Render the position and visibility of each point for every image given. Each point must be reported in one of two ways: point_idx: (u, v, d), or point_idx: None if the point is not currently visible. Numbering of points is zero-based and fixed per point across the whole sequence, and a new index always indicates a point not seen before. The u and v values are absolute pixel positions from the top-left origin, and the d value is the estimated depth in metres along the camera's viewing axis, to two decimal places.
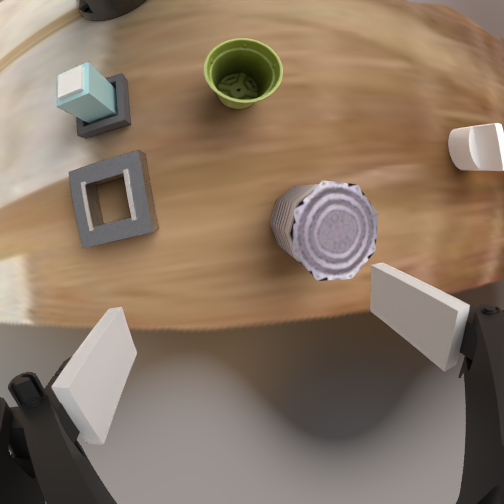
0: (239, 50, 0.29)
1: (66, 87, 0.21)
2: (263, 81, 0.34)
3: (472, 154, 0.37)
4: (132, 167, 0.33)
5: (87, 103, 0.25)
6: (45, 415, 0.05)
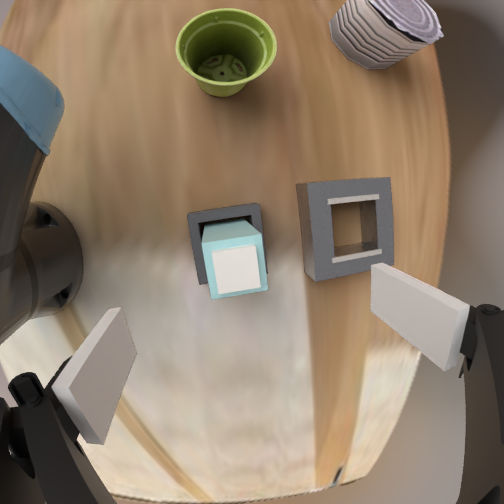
0: (186, 55, 0.22)
1: (246, 273, 0.21)
2: (219, 43, 0.25)
3: None
4: (325, 192, 0.29)
5: None
6: (45, 415, 0.05)
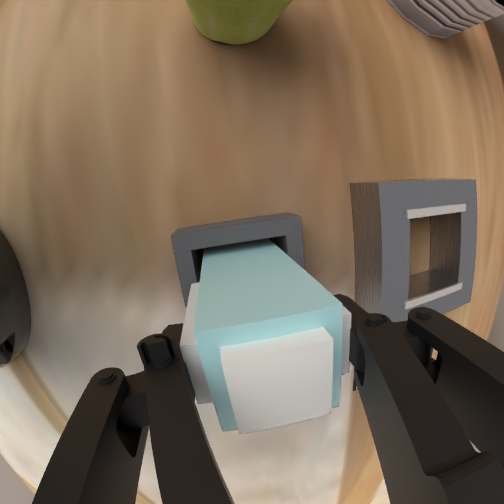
0: None
1: (305, 396, 0.08)
2: None
3: None
4: (404, 199, 0.16)
5: None
6: (174, 377, 0.07)
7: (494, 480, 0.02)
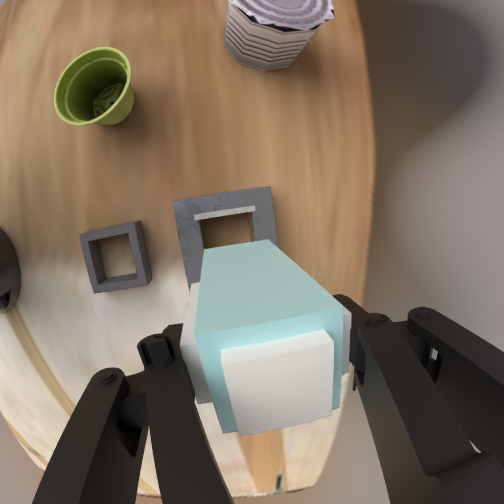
0: (68, 98, 0.23)
1: (305, 398, 0.08)
2: (105, 76, 0.26)
3: None
4: (192, 208, 0.30)
5: None
6: (174, 377, 0.07)
7: (495, 480, 0.02)
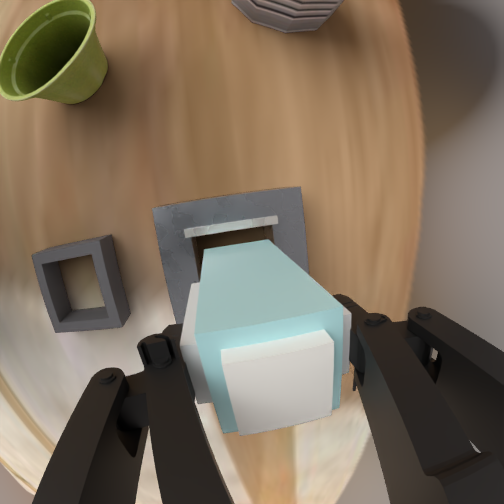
0: (17, 68, 0.12)
1: (305, 398, 0.08)
2: (71, 40, 0.16)
3: None
4: (182, 219, 0.20)
5: None
6: (174, 377, 0.07)
7: (494, 480, 0.02)
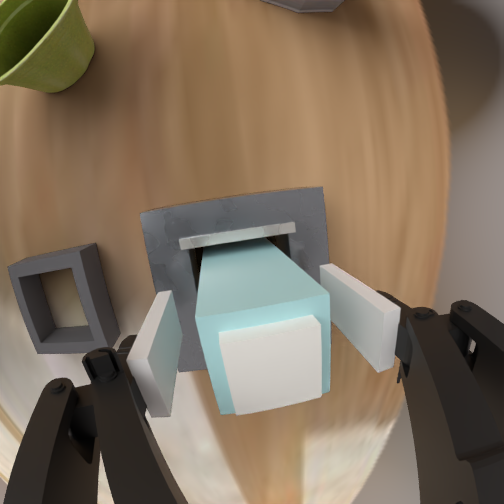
0: None
1: (296, 379, 0.09)
2: (55, 22, 0.12)
3: None
4: (176, 227, 0.16)
5: None
6: (119, 391, 0.07)
7: None
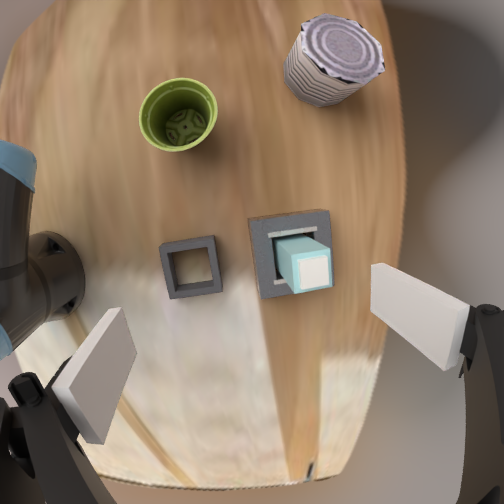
0: (149, 122, 0.30)
1: (320, 275, 0.30)
2: (180, 102, 0.34)
3: None
4: (266, 227, 0.37)
5: None
6: (45, 415, 0.05)
7: None
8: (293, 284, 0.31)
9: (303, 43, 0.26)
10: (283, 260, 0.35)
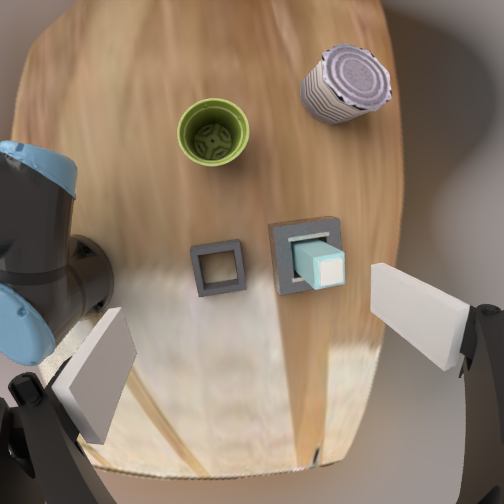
0: (185, 136, 0.35)
1: (336, 274, 0.36)
2: (209, 118, 0.39)
3: None
4: (286, 233, 0.43)
5: None
6: (45, 415, 0.05)
7: None
8: (313, 282, 0.37)
9: (324, 72, 0.31)
10: (302, 261, 0.41)
